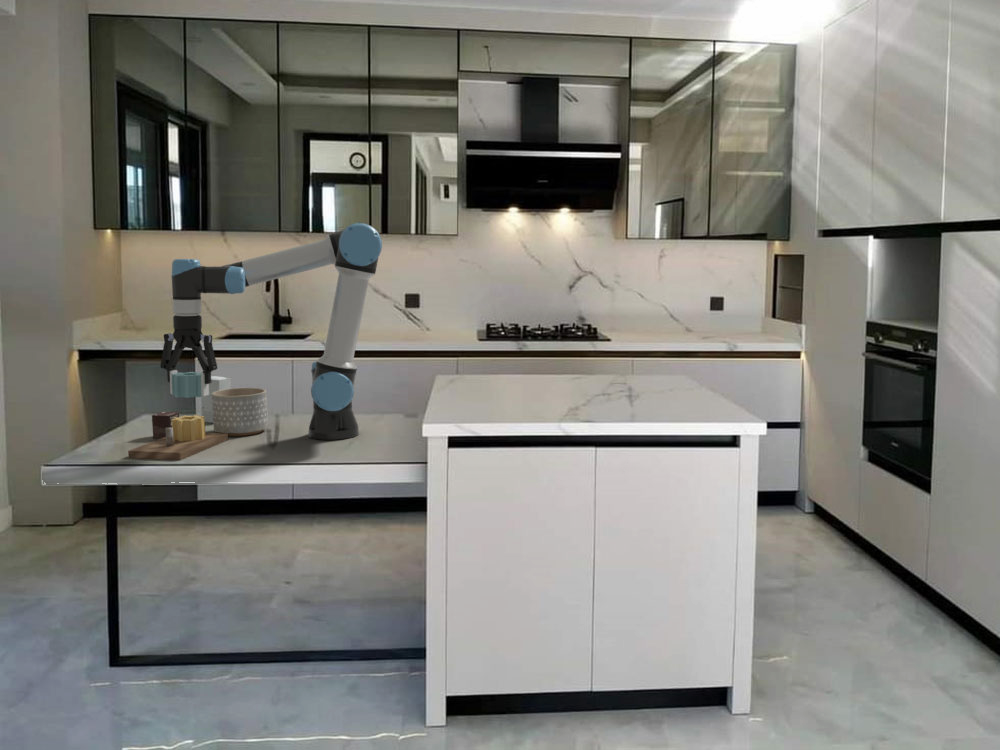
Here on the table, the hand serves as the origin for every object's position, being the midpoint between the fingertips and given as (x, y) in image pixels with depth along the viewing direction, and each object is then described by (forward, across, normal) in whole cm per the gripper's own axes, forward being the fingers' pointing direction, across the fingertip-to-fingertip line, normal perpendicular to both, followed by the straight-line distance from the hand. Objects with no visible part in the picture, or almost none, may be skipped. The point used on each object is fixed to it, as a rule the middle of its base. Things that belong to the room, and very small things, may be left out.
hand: (189, 394), depth 262 cm
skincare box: (+17, +15, -42) cm, 48 cm away
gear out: (+15, +5, -8) cm, 18 cm away
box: (+17, +18, -17) cm, 30 cm away
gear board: (+17, +5, -3) cm, 18 cm away
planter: (+16, -1, -28) cm, 33 cm away
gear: (0, 0, 0) cm, 0 cm away
